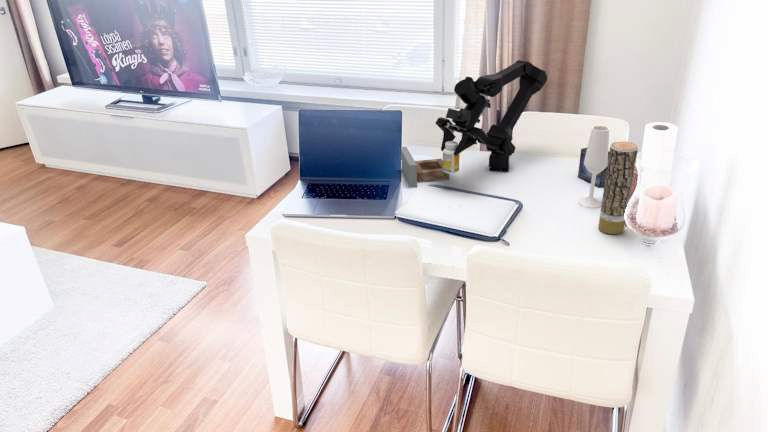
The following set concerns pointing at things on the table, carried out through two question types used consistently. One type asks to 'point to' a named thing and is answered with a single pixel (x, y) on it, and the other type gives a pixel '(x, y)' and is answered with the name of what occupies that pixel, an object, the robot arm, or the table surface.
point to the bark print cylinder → (617, 186)
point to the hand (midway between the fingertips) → (448, 152)
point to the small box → (586, 175)
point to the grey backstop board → (409, 167)
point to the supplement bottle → (450, 158)
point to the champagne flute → (596, 160)
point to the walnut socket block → (431, 171)
